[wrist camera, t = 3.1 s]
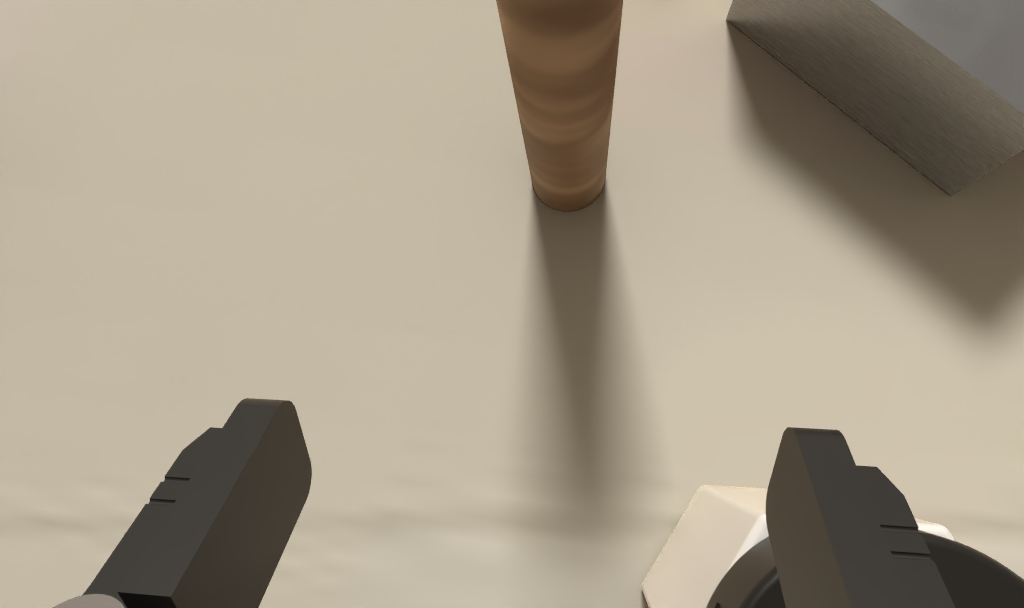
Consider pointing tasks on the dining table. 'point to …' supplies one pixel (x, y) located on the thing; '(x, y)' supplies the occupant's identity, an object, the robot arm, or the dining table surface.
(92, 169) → the dining table surface
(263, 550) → the robot arm
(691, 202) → the dining table surface
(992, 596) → the jar
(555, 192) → the walnut pin
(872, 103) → the block
